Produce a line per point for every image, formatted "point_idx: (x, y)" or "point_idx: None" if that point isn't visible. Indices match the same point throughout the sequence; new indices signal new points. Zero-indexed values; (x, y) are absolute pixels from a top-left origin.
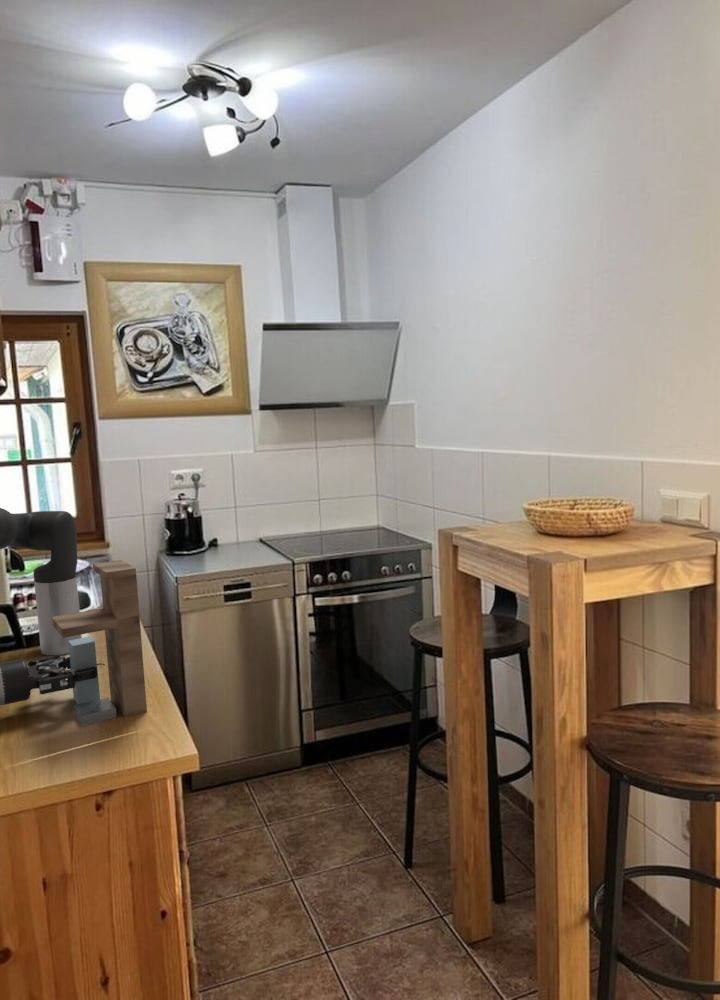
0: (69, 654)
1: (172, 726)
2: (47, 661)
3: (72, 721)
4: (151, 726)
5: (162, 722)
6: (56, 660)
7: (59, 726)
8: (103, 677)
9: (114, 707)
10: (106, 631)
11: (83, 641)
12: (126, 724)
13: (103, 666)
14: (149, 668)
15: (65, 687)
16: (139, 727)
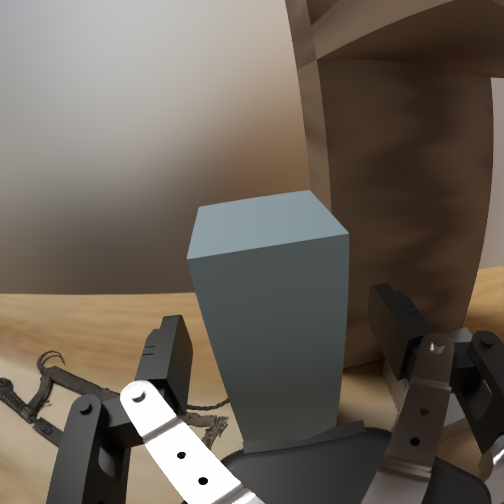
0: (214, 340)
1: (489, 273)
2: (194, 476)
3: (452, 451)
4: (492, 295)
5: (475, 283)
6: (184, 425)
7: (479, 478)
8: (116, 370)
9: (463, 329)
10: (350, 123)
11: (277, 211)
12: (485, 329)
13: (60, 354)
14: (149, 297)
15: (491, 397)
16: (497, 309)
